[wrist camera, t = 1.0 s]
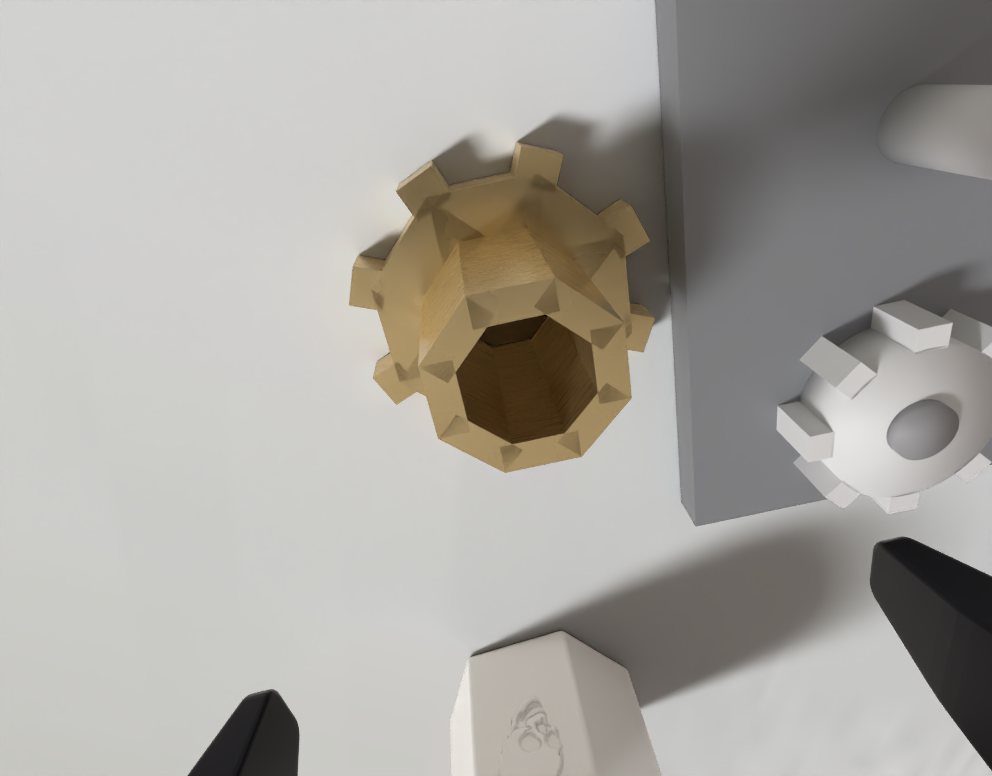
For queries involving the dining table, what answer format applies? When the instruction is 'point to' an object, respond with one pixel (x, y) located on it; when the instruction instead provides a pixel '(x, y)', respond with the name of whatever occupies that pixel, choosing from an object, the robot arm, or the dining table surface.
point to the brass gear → (508, 311)
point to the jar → (548, 714)
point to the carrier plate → (827, 248)
